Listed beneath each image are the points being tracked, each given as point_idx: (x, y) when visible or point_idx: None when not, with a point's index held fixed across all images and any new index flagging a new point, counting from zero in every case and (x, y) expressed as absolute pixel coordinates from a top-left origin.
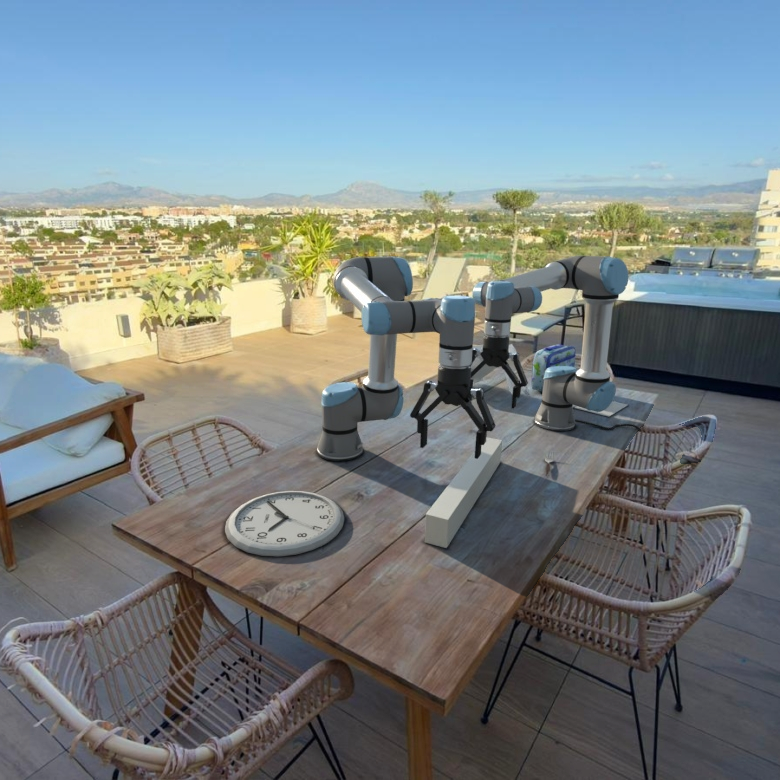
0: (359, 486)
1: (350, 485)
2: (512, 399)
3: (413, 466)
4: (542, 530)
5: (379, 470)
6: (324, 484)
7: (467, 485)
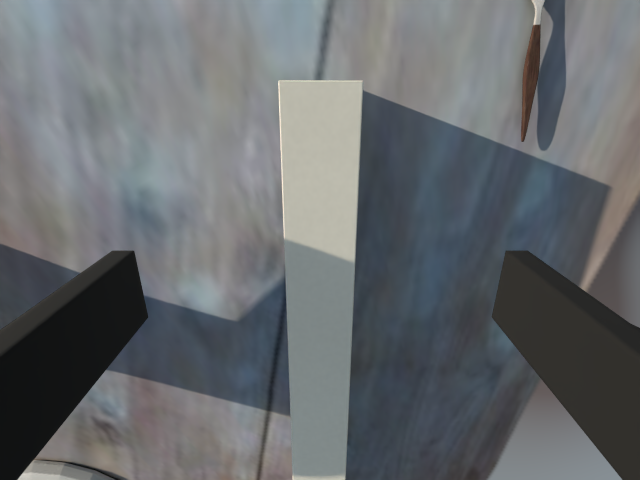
0: None
1: None
2: (539, 371)
3: None
4: (497, 398)
5: None
6: None
7: (337, 455)
